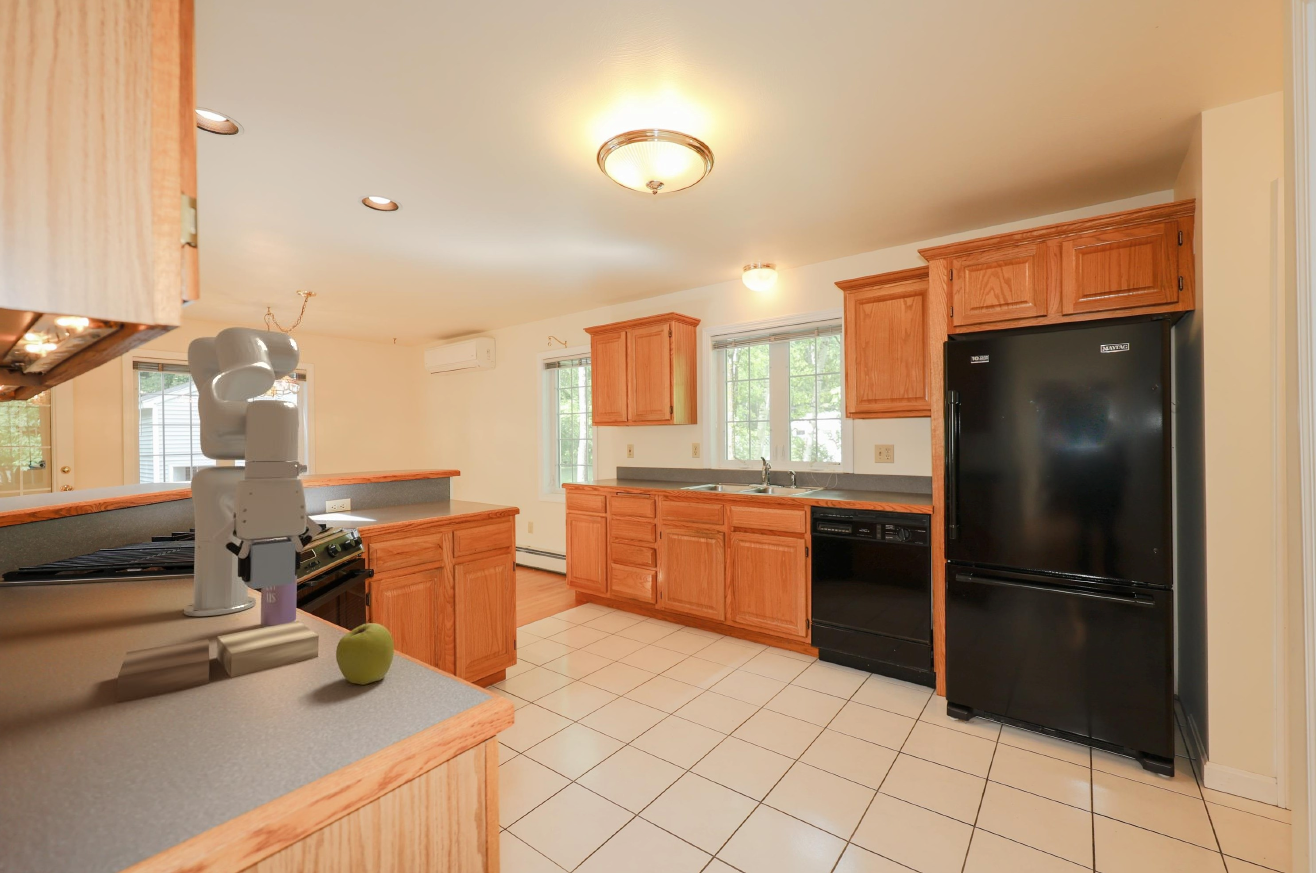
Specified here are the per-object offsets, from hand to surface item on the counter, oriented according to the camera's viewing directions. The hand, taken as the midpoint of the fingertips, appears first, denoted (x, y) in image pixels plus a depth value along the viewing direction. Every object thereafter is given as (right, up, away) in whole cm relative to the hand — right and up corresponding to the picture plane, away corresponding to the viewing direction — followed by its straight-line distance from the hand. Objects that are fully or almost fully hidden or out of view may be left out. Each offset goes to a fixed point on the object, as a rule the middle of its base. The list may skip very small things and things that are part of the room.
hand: (269, 576), depth 96 cm
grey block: (0, -1, 0) cm, 1 cm away
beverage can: (-11, -14, +18) cm, 25 cm away
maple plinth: (0, -14, 0) cm, 14 cm away
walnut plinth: (-9, -14, -10) cm, 19 cm away
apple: (+21, -14, -10) cm, 27 cm away
